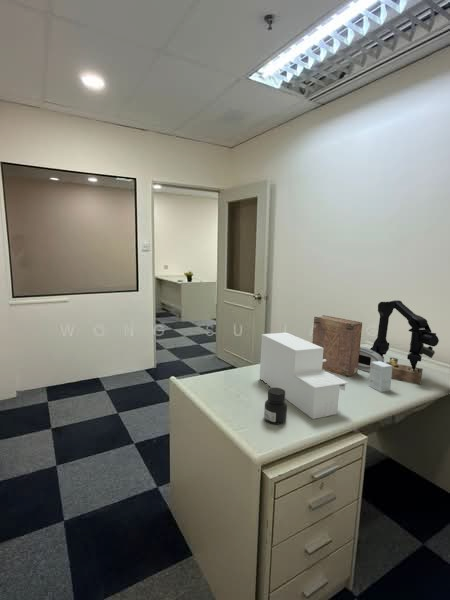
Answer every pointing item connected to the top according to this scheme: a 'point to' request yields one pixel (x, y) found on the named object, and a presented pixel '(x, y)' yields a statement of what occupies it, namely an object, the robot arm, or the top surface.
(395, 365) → the brass peg
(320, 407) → the building
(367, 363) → the alarm clock
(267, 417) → the ink bottle
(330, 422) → the top surface
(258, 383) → the top surface
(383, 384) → the small box
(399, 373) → the walnut block
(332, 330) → the brown wooden case
